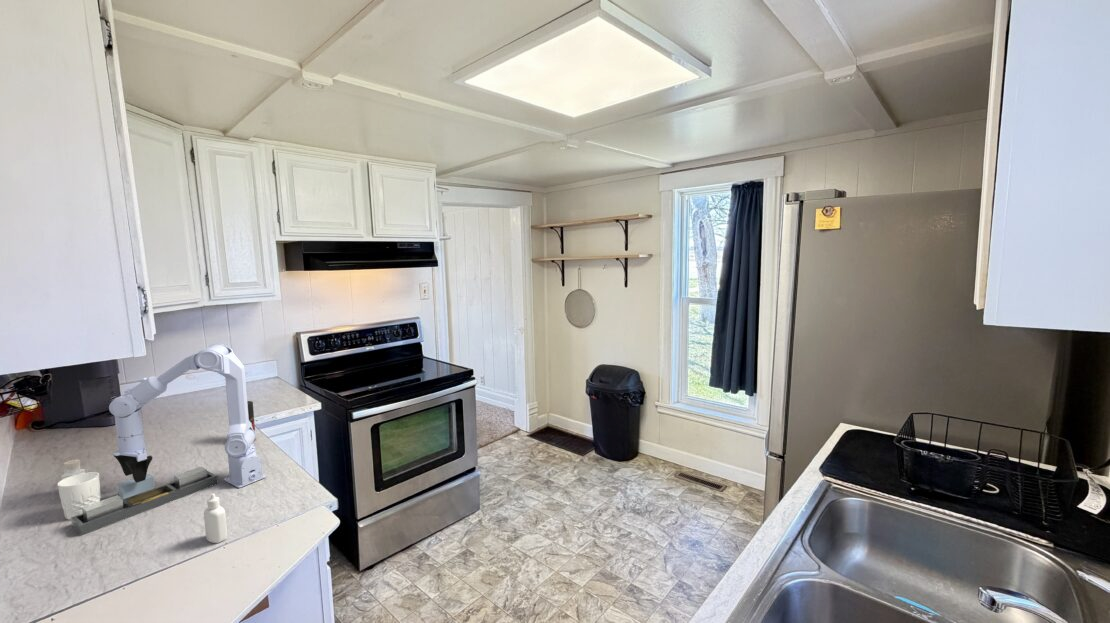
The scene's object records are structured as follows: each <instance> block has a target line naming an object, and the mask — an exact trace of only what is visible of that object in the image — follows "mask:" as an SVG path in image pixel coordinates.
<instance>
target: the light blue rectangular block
mask: <svg viewBox="0 0 1110 623" xmlns="http://www.w3.org/2000/svg"><path fill="white" fill-rule="evenodd" d="M117 485H118V486H117V487H118V494H119V495H118V496H119V497H121V498H122V499H125V498H128V497H131V496H134V495H137V494H140V493H142V492H145V491H148V490H151V489H154V488H155V481H154V476H153V475H152V474H150V473H147V475H146V479H145V480H144V481H141V482H138V483H136V482H135V481H134V478H131V479H127V480H124V481H122V482H118V483H117Z"/></svg>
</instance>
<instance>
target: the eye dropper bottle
mask: <svg viewBox="0 0 1110 623" xmlns="http://www.w3.org/2000/svg"><path fill="white" fill-rule="evenodd" d="M206 502H207V508H205V509H204V511H203V520H204V529H205V530H204V531H205V539H206V540H207V541H208V542H209V543H214V544H219V543H222V542H223V541H225V540H227V539H228V528H227V527H228V526H227V519H226V518H227V516H226V510H225V508H224V507H223V506H221V503H220V502H221V501H220V496H216V494H215V493H211V494H210V498H209V499H207V501H206Z"/></svg>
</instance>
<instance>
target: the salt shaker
mask: <svg viewBox="0 0 1110 623" xmlns="http://www.w3.org/2000/svg"><path fill="white" fill-rule="evenodd" d="M63 469H64V473H63V474H62V475H61V476H60V481H61V480H63V479H65V478H67V477H70V476H73V475H77V474H81V473H86V469H84V468H81V461H80V459H78V458H77V459H72V460H71V459H70V460H68V461H66V462H64V463H63Z"/></svg>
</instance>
